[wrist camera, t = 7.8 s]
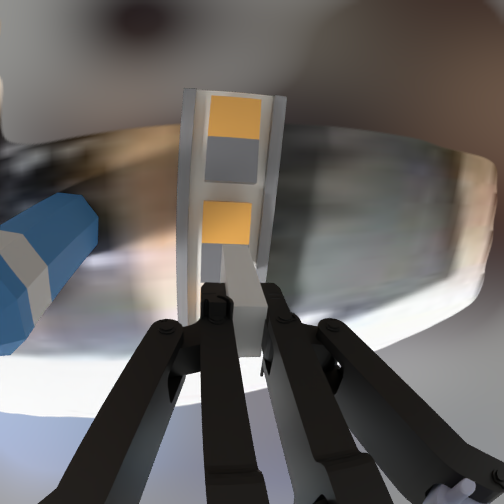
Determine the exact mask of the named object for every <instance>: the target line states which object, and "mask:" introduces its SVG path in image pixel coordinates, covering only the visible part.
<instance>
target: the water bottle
mask: <svg viewBox="0 0 504 504" xmlns="http://www.w3.org/2000/svg"><path fill="white" fill-rule="evenodd" d="M98 218H99V217H98V216H97V215H96V213H95V212H94V211H93V209H92V208H91V207H90V205H89V204H88V203H87V201H86V200H85V199H84V198H83V196H82V195H76V194H67V193H56V194H54V195H52V196H50V197H48V198H47V199H45V200H43V201H41V202H39V203H37V204H36V205H34V206H32V207H30V208H28V209H27V210H25V211H23V212H21V213H20V214H18V215H16V216H15V217H13V218H11V219H10V220H8V221H6V222H5V223H3V224H2V225H0V356H5V355H11V354H12V353H13V352H14V351H15V350H16V349H17V348H18V347H19V346H20V345H21V344H22V343H23V342H24V341H25V340H26V339H27V337H28V336H29V334H30V333H31V331H32V330H33V328H34V327H35V325H36V324H37V322H38V321H39V319H40V318H41V317H42V315H43V314H44V312H45V311H46V309H47V308H48V307H49V305H50V304H51V303H52V301H53V300H54V298H55V297H56V296H57V294H58V293H59V292H60V290H61V289H62V288H63V286H64V285H65V284H66V282H67V281H68V280H69V279H70V277H71V276H72V275H73V273H74V272H75V271H76V270H77V268H78V267H79V266H80V265H81V263H82V262H83V261H84V260H85V259H86V257H87V256H88V255H89V254H90V252H91V251H92V250H93V249H94V248H95V247H96V245H97V244H98Z"/></svg>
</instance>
